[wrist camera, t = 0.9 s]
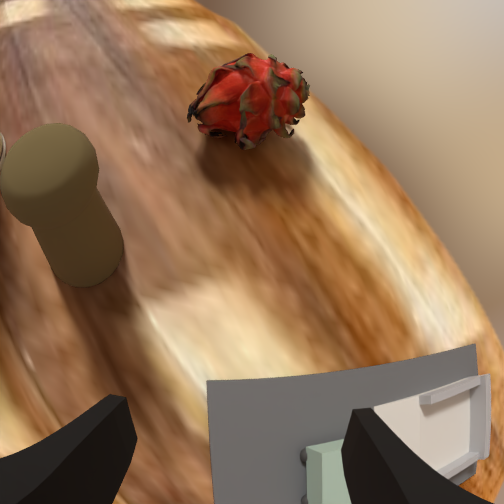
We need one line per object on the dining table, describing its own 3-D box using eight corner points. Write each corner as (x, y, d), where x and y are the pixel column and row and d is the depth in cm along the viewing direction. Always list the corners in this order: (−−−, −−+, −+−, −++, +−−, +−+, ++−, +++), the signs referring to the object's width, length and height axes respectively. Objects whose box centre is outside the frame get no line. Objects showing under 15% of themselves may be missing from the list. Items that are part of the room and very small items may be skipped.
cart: (371, 486, 19) (395, 495, 16) (298, 507, 17) (318, 523, 14) (371, 428, 21) (397, 432, 18) (296, 445, 19) (317, 454, 16)
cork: (99, 302, 20) (48, 238, 10) (34, 264, 19) (-38, 184, 9) (138, 229, 22) (129, 125, 12) (74, 198, 22) (38, 94, 12)
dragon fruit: (294, 130, 32) (190, 166, 29) (270, 58, 29) (162, 85, 26) (343, 124, 25) (215, 167, 22) (315, 34, 22) (178, 58, 18)
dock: (470, 472, 22) (495, 475, 19) (219, 562, 15) (230, 588, 11) (469, 344, 28) (495, 338, 24) (205, 380, 20) (214, 382, 17)
